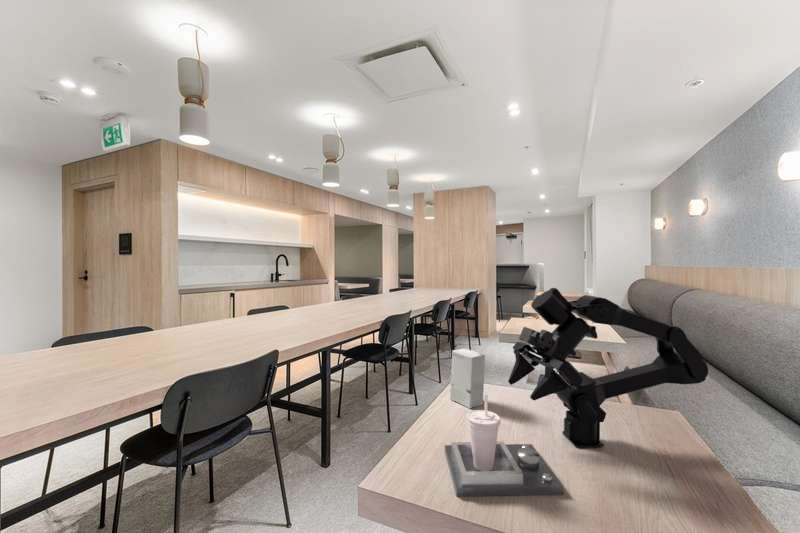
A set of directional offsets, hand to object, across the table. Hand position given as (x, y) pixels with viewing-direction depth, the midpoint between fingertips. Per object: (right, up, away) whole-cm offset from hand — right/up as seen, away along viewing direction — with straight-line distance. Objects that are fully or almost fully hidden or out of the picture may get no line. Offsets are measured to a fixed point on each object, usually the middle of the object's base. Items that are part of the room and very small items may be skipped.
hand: (520, 390), depth 77 cm
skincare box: (-7, -12, +24) cm, 28 cm away
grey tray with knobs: (-7, -13, -9) cm, 17 cm away
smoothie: (-10, -11, -9) cm, 18 cm away
